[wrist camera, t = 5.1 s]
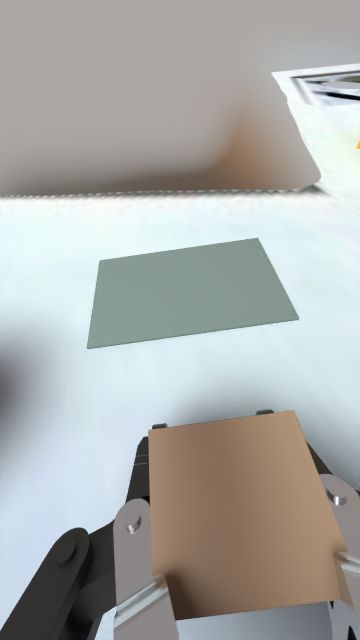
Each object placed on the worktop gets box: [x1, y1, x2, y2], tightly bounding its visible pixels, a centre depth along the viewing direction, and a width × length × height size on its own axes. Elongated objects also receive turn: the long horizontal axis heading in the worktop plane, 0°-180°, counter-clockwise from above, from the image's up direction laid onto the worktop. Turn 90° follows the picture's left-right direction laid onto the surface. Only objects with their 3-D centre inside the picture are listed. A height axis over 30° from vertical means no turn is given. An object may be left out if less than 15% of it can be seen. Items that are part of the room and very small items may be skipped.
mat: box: [87, 238, 299, 349], centre depth 22 cm, size 20×12×1 cm, turn 96°
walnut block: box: [148, 410, 348, 621], centre depth 9 cm, size 5×4×9 cm
